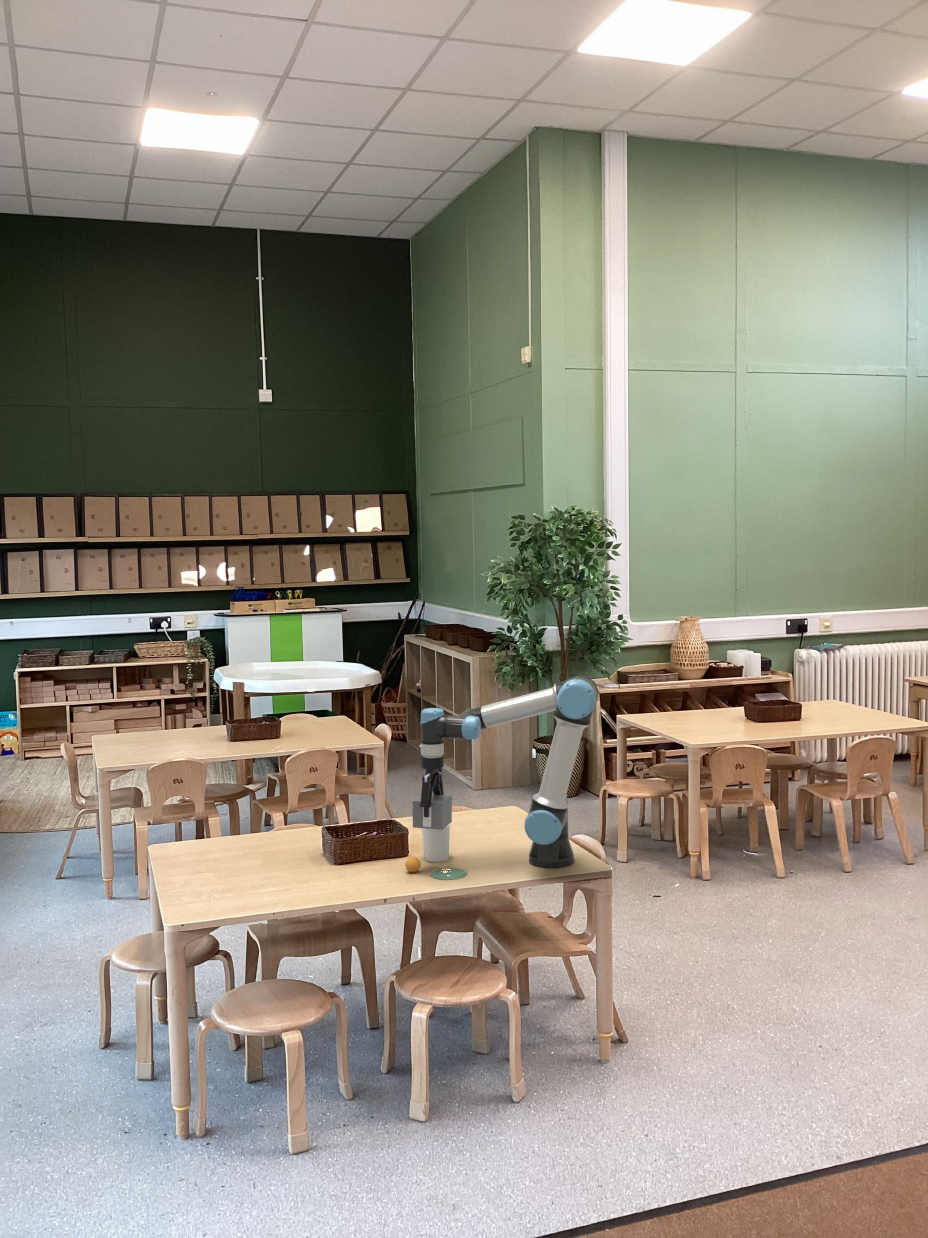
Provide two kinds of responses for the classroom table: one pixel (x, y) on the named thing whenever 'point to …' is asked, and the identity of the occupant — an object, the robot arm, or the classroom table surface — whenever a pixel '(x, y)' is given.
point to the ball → (413, 864)
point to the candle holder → (436, 844)
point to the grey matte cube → (434, 812)
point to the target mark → (453, 874)
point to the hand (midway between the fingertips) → (432, 822)
